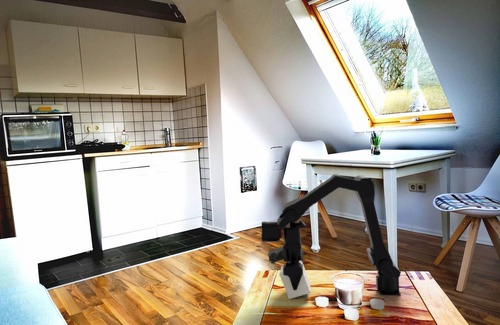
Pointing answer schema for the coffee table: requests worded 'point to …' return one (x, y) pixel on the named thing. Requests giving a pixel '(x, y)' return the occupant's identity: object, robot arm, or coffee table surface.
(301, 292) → the white upright block
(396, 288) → the robot arm
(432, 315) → the coffee table surface
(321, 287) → the coffee table surface
